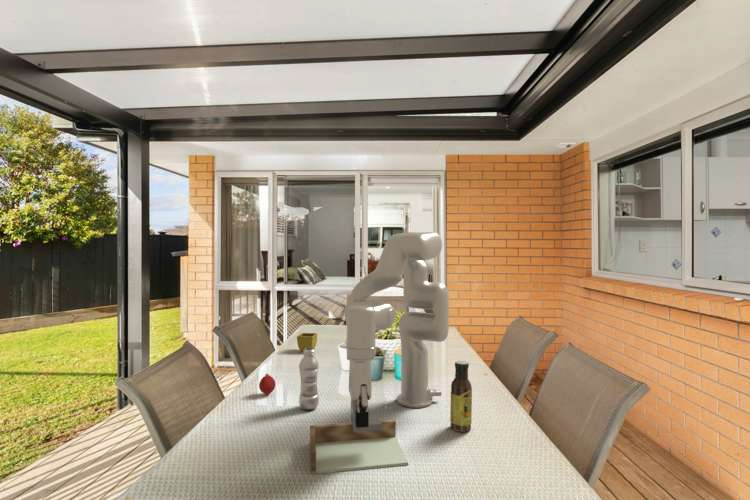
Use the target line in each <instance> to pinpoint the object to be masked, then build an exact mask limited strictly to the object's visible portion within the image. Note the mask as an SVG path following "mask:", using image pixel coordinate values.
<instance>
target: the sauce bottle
mask: <svg viewBox="0 0 750 500" xmlns="http://www.w3.org/2000/svg"><path fill="white" fill-rule="evenodd" d="M469 366H470V365H469V361H465V360H456V361H455V362H454V368H455V369H454V370H455V372H454V373H455V375H454V379H453V380H452V381H451V386H450V419H449V421H450V427H451V430H454V431H456V432H463V433H465V432H468V431H471V428H472V426H471V425H472V413H473V412H472V411H473V409H472V408H473V407H472V406H473V405H472V404H473V401H472V400H473V388H472V383H471V381H470V380H469Z"/></svg>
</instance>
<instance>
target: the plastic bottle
mask: <svg viewBox="0 0 750 500" xmlns="http://www.w3.org/2000/svg"><path fill="white" fill-rule="evenodd" d="M315 353H316V352H315V348H305V349H304V352H302V356H303V357H302V358H301V360H300V361H299V364H298V368H299V369H298V370H299V375H300V393H299V399H298V403H299V407H300V408H301V409H302V410H307V411H310V410H314V409H317V408H318V406H319V401H320V398H319V397H320V396H319V394H318V373H319V366H320V365H319V362H318V360H317V358H316V357H315V355H316V354H315Z"/></svg>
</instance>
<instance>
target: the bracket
mask: <svg viewBox="0 0 750 500" xmlns="http://www.w3.org/2000/svg"><path fill="white" fill-rule="evenodd" d="M359 399H361V397H359ZM361 403H362V402H359V405H360V404H361ZM356 411H357V400H355V401H353V400H352V399H351V398H350V423H351V426H352V430H353V432H359V431H372V430H382V423H381V421H382V420H381V419H380V416H379V415H376V416H375V415H374V416H369V426H368V427H361V428H357V427H356Z"/></svg>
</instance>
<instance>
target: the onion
mask: <svg viewBox="0 0 750 500" xmlns="http://www.w3.org/2000/svg"><path fill="white" fill-rule="evenodd" d="M258 388H259V390H260V392H261V393H263V394H264V395H265V396H269V395H270V394H271V393H272V392H273V391H274V390H275V388H276V381H275V379H274V378H273V376H271V375H270V374H269V373H266V374H265V376H263V377H261V379H260V381H259V383H258Z"/></svg>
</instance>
